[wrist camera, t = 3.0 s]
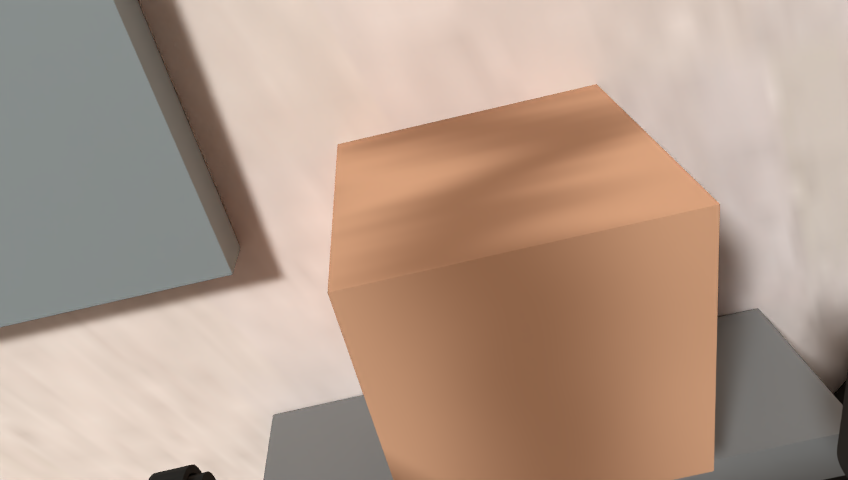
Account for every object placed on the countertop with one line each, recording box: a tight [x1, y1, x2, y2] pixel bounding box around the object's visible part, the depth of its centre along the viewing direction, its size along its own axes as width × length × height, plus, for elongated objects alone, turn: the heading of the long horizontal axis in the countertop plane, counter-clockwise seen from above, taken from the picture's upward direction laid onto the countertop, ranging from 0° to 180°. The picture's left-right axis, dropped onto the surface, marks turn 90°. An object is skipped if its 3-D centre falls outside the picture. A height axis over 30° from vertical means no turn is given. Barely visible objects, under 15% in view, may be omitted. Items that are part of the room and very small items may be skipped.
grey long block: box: [264, 309, 845, 480], centre depth 18 cm, size 14×4×4 cm, turn 102°
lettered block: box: [328, 84, 720, 480], centre depth 14 cm, size 6×6×6 cm
